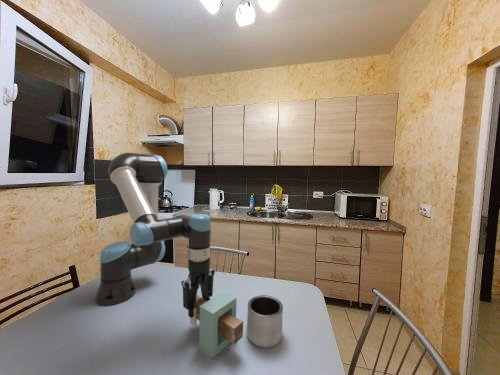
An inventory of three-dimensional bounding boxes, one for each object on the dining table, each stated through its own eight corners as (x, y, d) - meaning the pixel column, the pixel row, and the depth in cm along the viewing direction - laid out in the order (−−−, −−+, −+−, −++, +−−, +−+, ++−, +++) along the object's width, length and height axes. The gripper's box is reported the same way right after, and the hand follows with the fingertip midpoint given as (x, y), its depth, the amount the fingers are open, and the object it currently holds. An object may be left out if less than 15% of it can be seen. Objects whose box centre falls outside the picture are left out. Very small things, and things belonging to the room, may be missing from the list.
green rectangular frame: (199, 348, 69) (199, 305, 68) (222, 329, 77) (223, 291, 76) (211, 359, 65) (212, 313, 64) (235, 337, 74) (236, 297, 73)
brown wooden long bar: (188, 313, 77) (188, 300, 77) (197, 308, 80) (197, 295, 80) (234, 344, 64) (234, 328, 64) (242, 336, 67) (243, 321, 67)
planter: (272, 356, 67) (273, 322, 66) (239, 338, 74) (240, 307, 73) (287, 331, 78) (288, 302, 77) (257, 318, 84) (258, 291, 83)
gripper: (185, 269, 67) (184, 340, 68) (223, 253, 80) (222, 313, 82) (171, 262, 71) (171, 329, 73) (210, 249, 85) (209, 305, 86)
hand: (198, 320), depth 77 cm, fingers closed on brown wooden long bar, 4 cm apart
